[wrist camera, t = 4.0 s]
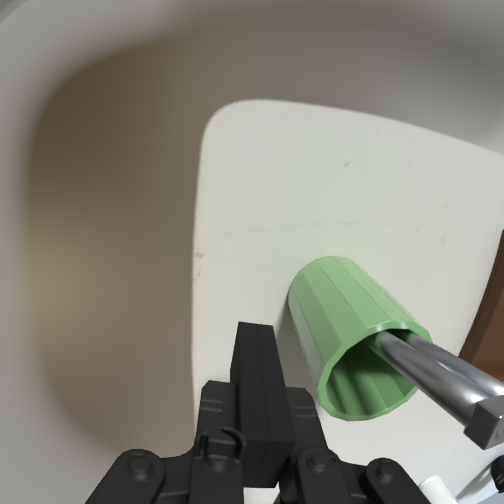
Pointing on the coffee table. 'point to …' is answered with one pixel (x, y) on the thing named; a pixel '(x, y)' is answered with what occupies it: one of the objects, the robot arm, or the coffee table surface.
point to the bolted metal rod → (446, 382)
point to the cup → (436, 491)
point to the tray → (489, 325)
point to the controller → (498, 473)
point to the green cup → (348, 338)
